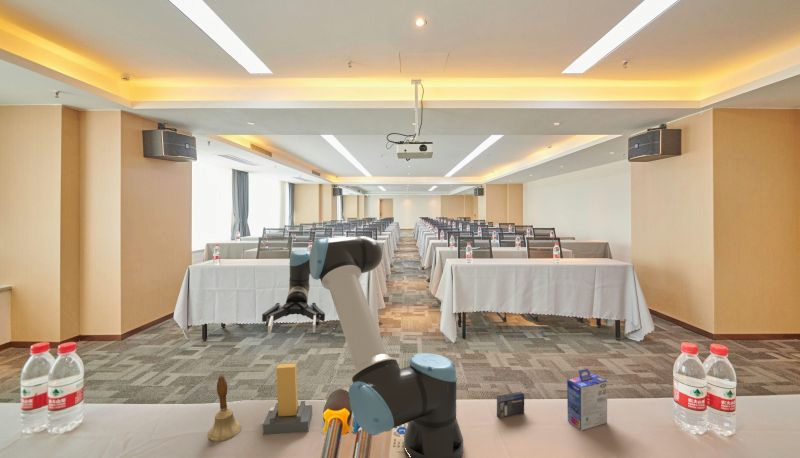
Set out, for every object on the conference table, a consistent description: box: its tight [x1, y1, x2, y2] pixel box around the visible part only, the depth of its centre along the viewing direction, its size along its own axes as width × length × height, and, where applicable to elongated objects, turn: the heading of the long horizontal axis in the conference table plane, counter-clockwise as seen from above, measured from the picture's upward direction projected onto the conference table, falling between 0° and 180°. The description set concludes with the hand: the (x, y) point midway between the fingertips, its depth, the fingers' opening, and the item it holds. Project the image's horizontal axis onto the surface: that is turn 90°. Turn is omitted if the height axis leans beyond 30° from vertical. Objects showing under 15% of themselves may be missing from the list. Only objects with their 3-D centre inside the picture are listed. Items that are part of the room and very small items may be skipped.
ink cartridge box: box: [566, 368, 608, 431], centre depth 101 cm, size 10×6×14 cm, turn 110°
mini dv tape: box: [496, 391, 525, 419], centre depth 105 cm, size 8×2×6 cm, turn 106°
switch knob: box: [275, 362, 299, 417], centre depth 101 cm, size 5×2×14 cm, turn 96°
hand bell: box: [207, 375, 242, 442], centre depth 99 cm, size 8×8×16 cm
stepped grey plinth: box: [262, 400, 313, 436], centre depth 102 cm, size 12×8×4 cm, turn 96°
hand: (291, 329), depth 113 cm, fingers open, 13 cm apart
